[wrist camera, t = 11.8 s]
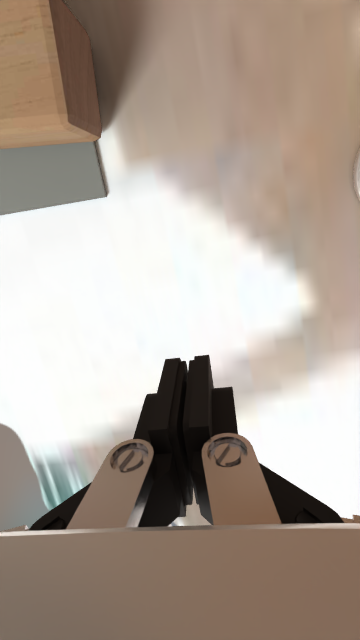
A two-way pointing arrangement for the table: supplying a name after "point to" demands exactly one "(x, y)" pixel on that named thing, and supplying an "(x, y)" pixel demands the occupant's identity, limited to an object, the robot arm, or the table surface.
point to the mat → (49, 176)
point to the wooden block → (45, 76)
